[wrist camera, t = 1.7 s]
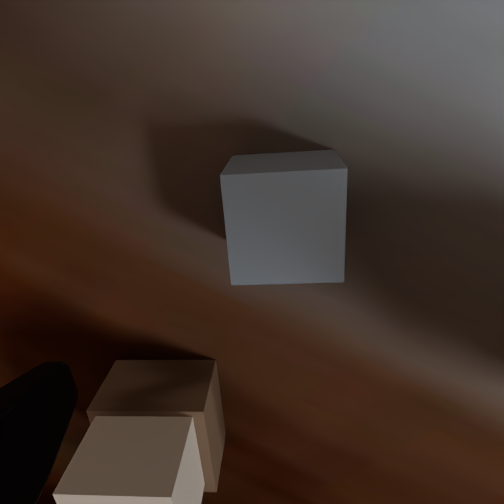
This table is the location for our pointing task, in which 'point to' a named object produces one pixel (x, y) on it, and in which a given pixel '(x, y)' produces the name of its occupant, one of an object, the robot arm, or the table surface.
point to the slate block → (285, 217)
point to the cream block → (134, 463)
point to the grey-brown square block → (169, 401)
